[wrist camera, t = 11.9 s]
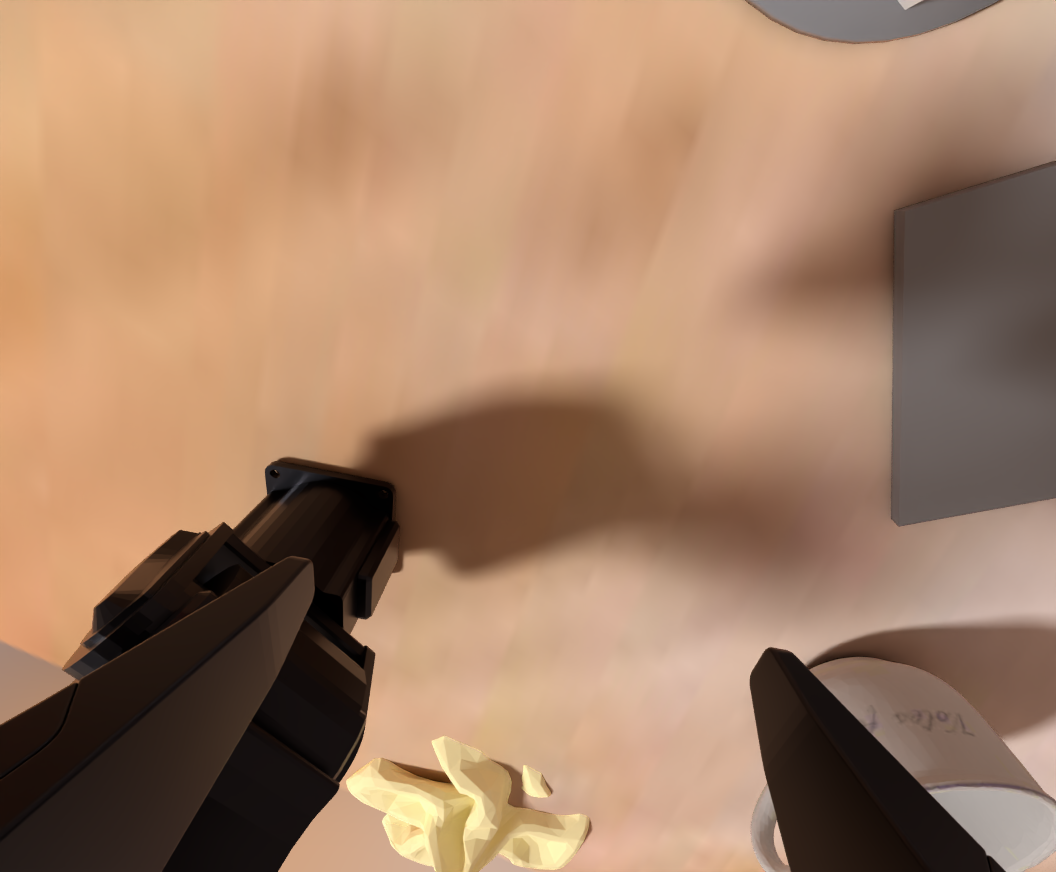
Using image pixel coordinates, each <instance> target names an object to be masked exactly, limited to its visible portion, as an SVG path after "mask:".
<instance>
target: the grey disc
mask: <svg viewBox="0 0 1056 872" xmlns="http://www.w3.org/2000/svg"><path fill="white" fill-rule="evenodd" d="M997 1H999V0H923V1H921V2H919V3H917V4H915V5H913V6H912V7H910V8H908V9H906V10H905V9H904V8H903V7H902V6H901V4H900V3H899V2H898V0H746V2H748V3H749V4H750V5H752V6H753V7H754V8H756V9H757V10H758V11H760V12H761V13H762V14H764V15H765V16H766V17H768V18H769V19H770V20H772V21H774V22H776V23H778V24H780V25H782V26H784V27H786V28H788V29H790V30H792V31H794V32H796V33H799V34H803V35H806V36H810V37H813V38H816V39H820V40H823V41H831V42H840V43H849V44H861V43H882V42H888V41H893V40H898V39H903V38H908V37H913V36H917V35H920V34H923V33H926V32H929V31H932V30H935V29H938V28H940V27H943V26H946V25H949V24H951V23H954V22H956V21H958V20H960V19H962V18H964V17H966V16H969V15H971V14H973V13H975V12H977V11H979V10H981V9H983V8H985V7H987V6H989V5H992V4H994V3H995V2H997Z"/></svg>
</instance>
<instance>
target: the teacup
mask: <svg viewBox="0 0 1056 872" xmlns="http://www.w3.org/2000/svg"><path fill="white" fill-rule="evenodd" d="M810 671H811V672H812V673H813V674H814V675H815V676H816V677H817V678H818V679H819V680H820V681H821V682H822V683H823V684H824V686H825V687H826V688H827V689H828V690H829V691H830V692H831V693H832V694H833V695H834V696H835V697H836V698H837V699H838V700H839V701H840V702H841V703H842V704H843V705H844V706H845V707H846V708H847V709H848V710H849V711H850V712H851V713H852V714H853V715H854V716H855V717H856V718H857V719H858V720H859V721H860V722H861V723H862V724H863V725H864V727H865V728H866V729H867V730H868V731H869V732H870V733H871V734H872V735H873V736H874V737H875V738H876V739H877V740H878V741H879V742H880V743H881V744H882V745H883V746H884V747H885V748H886V749H887V750H888V751H889V752H890V753H891V754H892V755H893V756H894V757H895V758H896V759H897V760H898V761H899V762H900V763H901V764H902V765H903V766H904V768H905V769H906V770H907V771H908V772H909V773H910V774H911V775H912V776H913V777H914V778H915V779H916V780H917V781H918V782H919V783H920V784H921V785H922V786H923V787H924V788H925V789H926V790H927V791H928V792H929V793H930V794H931V795H932V796H933V797H934V798H935V799H936V800H937V801H938V802H939V803H940V804H941V805H942V806H943V808H944V809H945V810H946V811H947V812H948V813H949V814H950V815H951V816H952V817H953V818H954V819H955V820H956V821H957V822H958V823H959V824H960V825H961V826H962V827H963V828H964V829H965V830H966V831H967V832H968V833H969V834H970V835H971V836H972V837H973V838H974V839H975V840H976V841H977V842H978V843H979V844H980V845H981V846H982V847H983V849H984V850H985V851H986V854H987V855H989V856H991V857H992V858H993V859H994V860H995V861H996V862H997V863H998V864H999V865H1000V866H1001V867H1002V868H1003V869H1004V870H1005V871H1006V872H1024V871H1025V870H1026V869H1029V868H1032V867H1034V866H1036V865H1038V864H1039V863H1041V862H1042V861H1043V860H1045V859H1046V858H1048V857H1049V856H1050V855H1051V854H1053V853H1054V852H1055V851H1056V801H1055V800H1054V799H1053V798H1052V797H1050V796H1049V795H1048V794H1046V793H1045V792H1044V791H1043V790H1042V788H1041V787H1040V786H1039V785H1038V783H1037V782H1036V781H1035V780H1034V778H1033V777H1032V776H1031V775H1030V773H1029V772H1028V771H1027V770H1026V768H1025V767H1024V766H1023V765H1022V764H1021V762H1020V761H1019V760H1018V759H1017V757H1016V756H1015V755H1014V754H1013V753H1012V751H1011V750H1010V749H1009V748H1008V747H1007V745H1006V744H1005V743H1004V742H1003V741H1002V739H1001V738H1000V737H999V736H998V735H997V733H996V732H995V731H994V730H993V729H992V728H991V727H990V725H989V724H988V723H987V722H986V721H985V720H984V718H983V717H982V716H981V715H980V714H979V713H978V712H977V711H976V710H975V708H974V707H973V706H972V705H971V704H970V703H969V702H968V701H967V700H966V699H965V698H964V697H963V696H962V695H961V694H960V693H959V692H957V691H956V690H955V689H954V688H953V687H951V686H950V685H949V684H947V683H946V682H945V681H943V680H942V679H940V678H938V677H937V676H935V675H933V674H931V673H929V672H927V671H924V670H922V669H919V668H917V667H913V666H910V665H906V664H901V663H895V662H890V661H886V660H882V659H877V658H870V657H848V658H842V659H836V660H833V661H829V662H826V663H823V664H820V665H818V666H816V667H813V668H811V669H810ZM776 820H777V818H776V814H775V810H774V807H773V803H772V799H771V795H770V791H769V788H768V784H766V786H765V788H764V790H763V791H762V793H761V795H760V797H759V799H758V801H757V804H756V806H755V809H754V812H753V815H752V821H751V841H752V845H753V849H754V852H755V854H756V857H757V859H758V861H759V863H760V864H761V866H762V868H763V869H764V870H765V872H791V871H790V867H789V866H788V865H785V864H784V863H783V862H782V861H781V860H780V858H779V857H778V855H777V852H776V849H775V846H774V838H773V837H774V828H775V824H776Z"/></svg>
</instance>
